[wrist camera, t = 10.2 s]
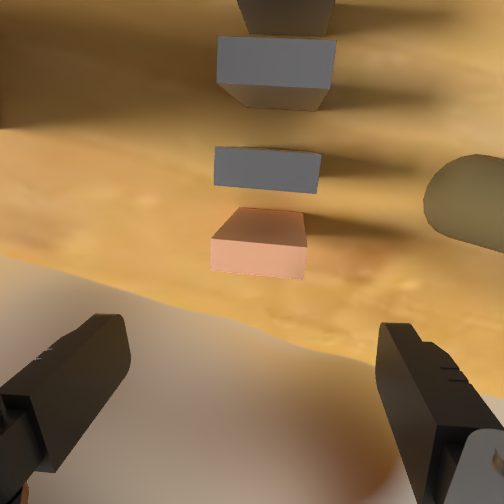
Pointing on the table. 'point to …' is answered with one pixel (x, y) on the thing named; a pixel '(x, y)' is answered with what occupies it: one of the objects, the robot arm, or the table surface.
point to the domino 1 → (287, 16)
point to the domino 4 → (261, 244)
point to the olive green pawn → (468, 201)
